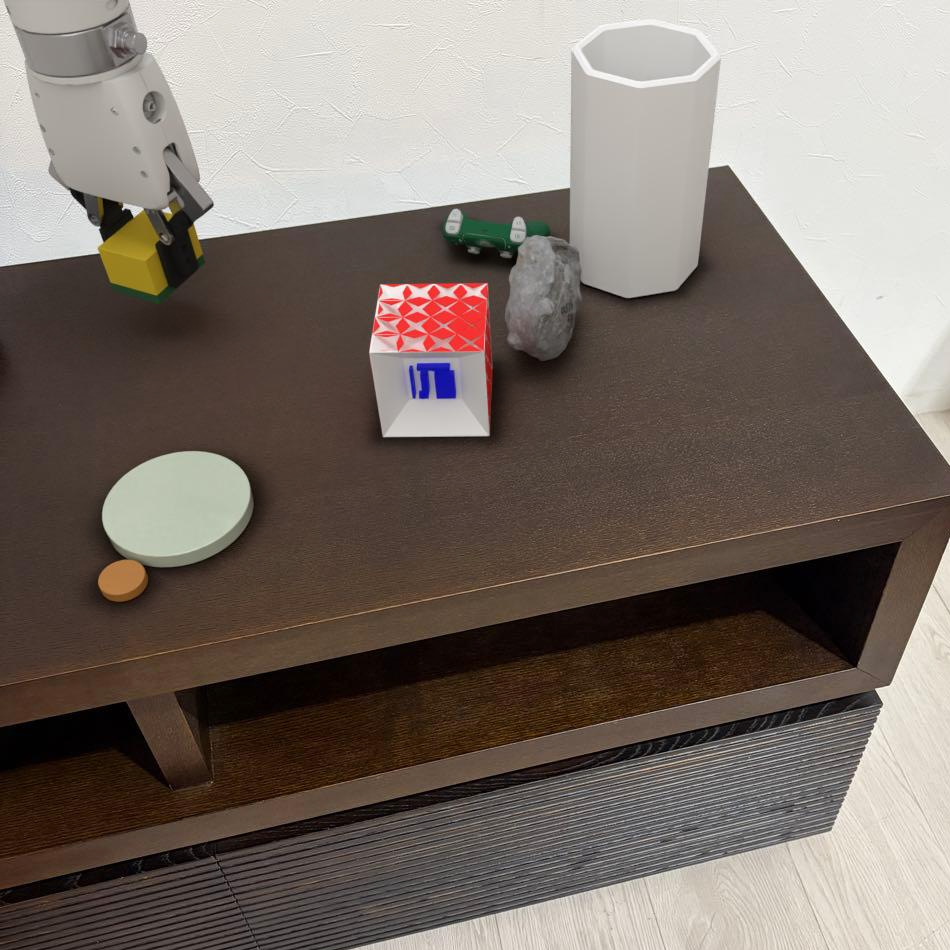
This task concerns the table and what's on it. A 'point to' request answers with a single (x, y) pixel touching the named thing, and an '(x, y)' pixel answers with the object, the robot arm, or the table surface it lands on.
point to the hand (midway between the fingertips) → (156, 268)
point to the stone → (543, 296)
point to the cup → (640, 153)
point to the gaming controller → (490, 233)
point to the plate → (178, 509)
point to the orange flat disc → (123, 580)
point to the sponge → (140, 260)
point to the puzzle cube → (432, 359)
